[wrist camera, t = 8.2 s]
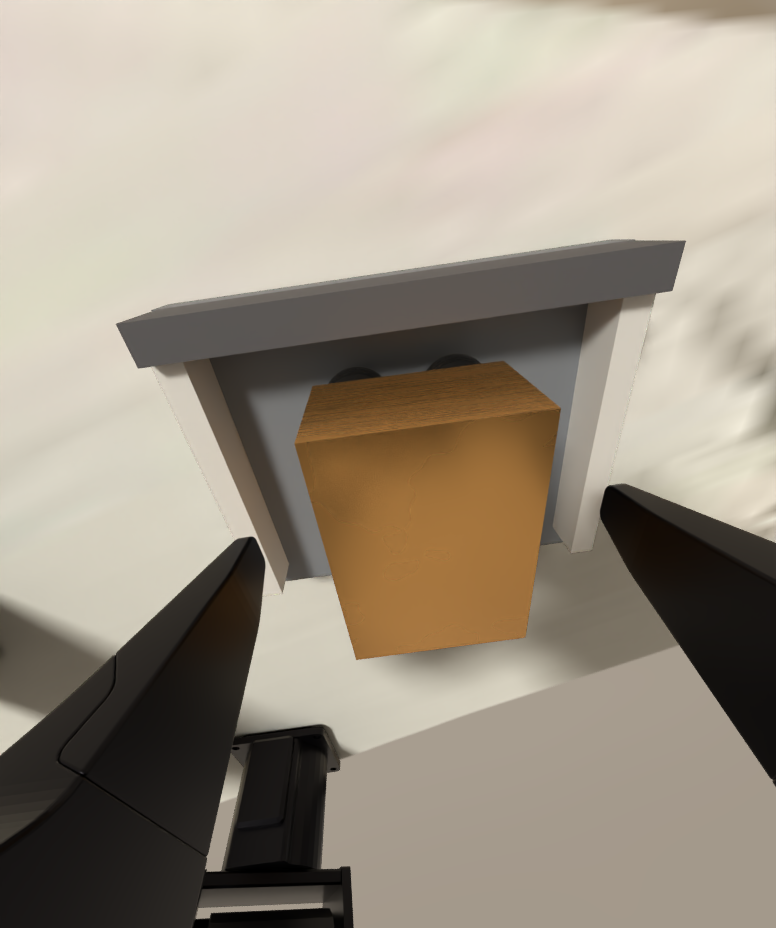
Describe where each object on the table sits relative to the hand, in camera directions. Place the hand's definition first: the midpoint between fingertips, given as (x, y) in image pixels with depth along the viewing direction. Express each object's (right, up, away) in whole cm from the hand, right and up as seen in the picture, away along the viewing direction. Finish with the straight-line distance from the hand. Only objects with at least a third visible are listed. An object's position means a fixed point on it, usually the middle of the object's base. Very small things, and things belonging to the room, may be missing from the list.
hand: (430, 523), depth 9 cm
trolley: (0, +2, +3) cm, 4 cm away
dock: (0, +2, +4) cm, 5 cm away
